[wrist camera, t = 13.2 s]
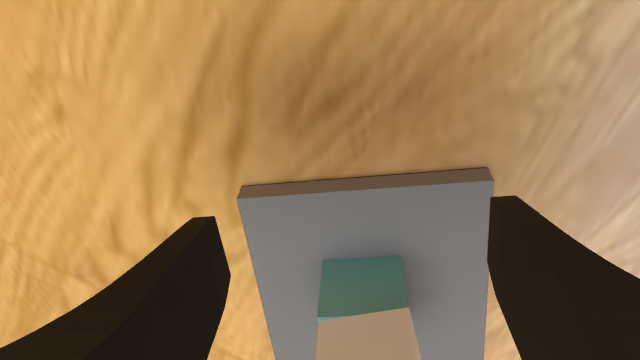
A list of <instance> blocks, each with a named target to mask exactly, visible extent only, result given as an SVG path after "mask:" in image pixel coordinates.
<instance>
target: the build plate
mask: <svg viewBox="0 0 640 360" xmlns="http://www.w3.org/2000/svg"><path fill="white" fill-rule="evenodd" d="M493 186H494V180H493V178H492V176H491V174H490V172H489V170H488V168H479V169H466V170H453V171H439V172H426V173H413V174H400V175H386V176H373V177H360V178H346V179H333V180H320V181H306V182H293V183H280V184H267V185H253V186H242V187H241V189H240V192H239V194H238V197H237V203H238V207H239V211H240V215H241V219H242V223H243V227H244V231H245V236H246V240H247V244H248V248H249V252H250V256H251V260H252V264H253V269H254V273H255V277H256V281H257V285H258V289H259V293H260V297H261V302H262V306H263V310H264V314H265V318H266V322H267V326H268V331H269V335H270V339H271V343H272V347H273V351H274V355H275V359H276V360H315V359H316V348H317V337H318V321H317V312H318V301H319V291H320V281H321V270H322V260H330V259H348V258H366V257H384V256H402V264H403V272H404V280H405V288H406V296H407V304H408V307H409V309H410V313H411V317H412V321H413V326H414V330H415V334H416V338H417V342H418V346H419V350H420V355H421V359H422V360H484V343H485V326H486V308H487V291H488V274H489V268H488V264H487V251H488V233H489V214H490V197H493Z"/></svg>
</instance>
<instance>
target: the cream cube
mask: <svg viewBox="0 0 640 360" xmlns="http://www.w3.org/2000/svg"><path fill="white" fill-rule="evenodd" d="M315 360H422V359H421V355H420V350H419V346H418V342H417V338H416V334H415V330H414V326H413V321H412V317H411V313H410V309H409V307H408V308H401V309H395V310H388V311H381V312H374V313H367V314H361V315H354V316H347V317H340V318H334V319H327V320H320V321H319V326H318V337H317V348H316V359H315Z"/></svg>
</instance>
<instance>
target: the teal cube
mask: <svg viewBox="0 0 640 360" xmlns="http://www.w3.org/2000/svg"><path fill="white" fill-rule="evenodd" d="M401 308H408V304H407V296H406V288H405V280H404V272H403V264H402V256H384V257H366V258H348V259H330V260H322V270H321V281H320V291H319V301H318V312H317V321H318V326H319V321H320V320H327V319H334V318H340V317H347V316H354V315H361V314H367V313H374V312H381V311H388V310H395V309H401Z"/></svg>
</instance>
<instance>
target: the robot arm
mask: <svg viewBox="0 0 640 360" xmlns="http://www.w3.org/2000/svg"><path fill="white" fill-rule="evenodd" d="M487 264H488V268H489V272H490V276H491V280H492V284H493V287H494V291H495V295H496V297H497V300H498V303H499V305H500V308H501V310H502V312H503V315H504V317H505V320H506V322H507V325H508V327H509V330H510V332H511V334H512V337H513V339H514V342H515V344H516V347H517V349H518V351H519V354H520V356H521V359H522V360H640V279H639V278H637V277H635V276H634V275H632V274H630V273H628V272H626V271H624V270H622V269H621V268H619V267H617V266H615V265H614V264H612V263H610V262H609V261H607V260H605V259H604V258H602V257H601V256H599V255H598V254H596V253H594V252H593V251H591V250H590V249H588V248H586V247H585V246H584V245H582V244H581V243H579V242H578V241H576V240H575V239H573V238H572V237H570V236H569V235H568V234H566V233H565V232H563V231H562V230H561V229H559V228H558V227H557V226H555V225H554V224H553V223H551V222H550V221H549V220H547V219H546V218H545V217H543V216H542V215H541V214H539V213H538V212H537V211H535V210H534V209H533V208H532V207H530V206H529V205H528V204H526V203H525V202H524V201H522V200H521V199H520V198H518V197H517V196H502V197H490V214H489V233H488V251H487ZM230 277H231V274H230V270H229V267H228V263H227V259H226V256H225V252H224V248H223V245H222V241H221V238H220V234H219V230H218V227H217V223H216V219H215V216H210V217H196V218H192V219H191V220H189V221H188V222H186V223H185V224H184V225H183V226H182V227H180V228H179V229H178V230H177V231H176V232H174V233H173V234H172V235H171V236H170V237H168V238H167V239H166V240H165V241H164V242H163V243H161V244H160V245H159V246H158V247H157V248H156V249H154V250H153V251H152V252H151V253H150V254H148V255H147V256H146V257H145V258H144V259H142V260H141V261H140V262H139V263H137V264H136V265H135V266H134V267H132V268H131V269H130V270H128V271H127V272H126V273H125V274H123V275H122V276H121V277H119V278H118V279H117V280H116V281H114V282H113V283H112V284H110V285H109V286H107V287H106V288H105V289H103V290H102V291H100V292H99V293H97V294H96V295H95V296H93V297H92V298H90V299H88V300H87V301H85V302H84V303H82V304H81V305H79V306H78V307H76V308H74V309H73V310H71V311H70V312H68V313H66V314H64V315H63V316H61V317H59V318H57V319H55V320H54V321H52V322H50V323H48V324H47V325H45V326H43V327H41V328H39V329H38V330H36V331H34V332H32V333H30V334H28V335H26V336H24V337H22V338H20V339H18V340H16V341H14V342H12V343H10V344H8V345H6V346H4V347H2V348H0V360H207V358H208V355H209V352H210V349H211V346H212V343H213V341H214V338H215V335H216V332H217V329H218V326H219V323H220V320H221V317H222V314H223V311H224V308H225V303H226V299H227V294H228V288H229V283H230Z"/></svg>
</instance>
